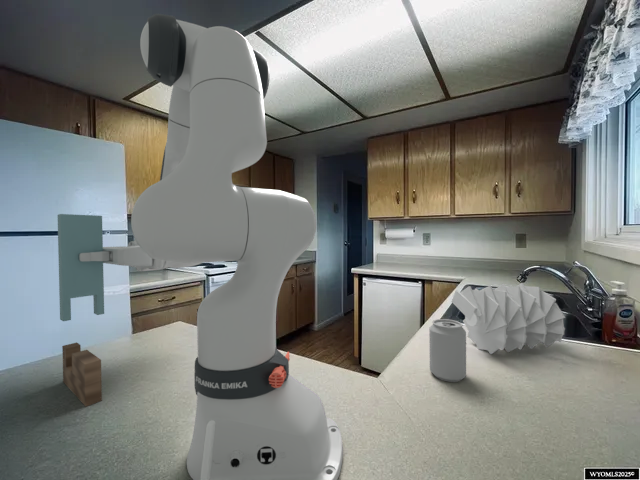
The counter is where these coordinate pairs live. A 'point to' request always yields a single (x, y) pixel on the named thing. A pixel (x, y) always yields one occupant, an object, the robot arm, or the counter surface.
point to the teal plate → (75, 274)
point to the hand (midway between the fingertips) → (76, 257)
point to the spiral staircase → (510, 317)
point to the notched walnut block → (82, 373)
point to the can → (447, 350)
